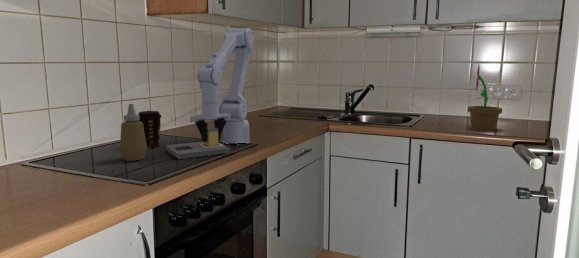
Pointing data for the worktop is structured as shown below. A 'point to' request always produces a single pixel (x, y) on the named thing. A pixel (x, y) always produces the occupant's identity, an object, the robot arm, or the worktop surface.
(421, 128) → the worktop surface
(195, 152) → the socket panel
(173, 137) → the worktop surface
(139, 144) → the squeeze bottle
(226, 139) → the robot arm
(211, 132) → the plug
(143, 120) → the coffee cup
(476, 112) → the flowerpot
